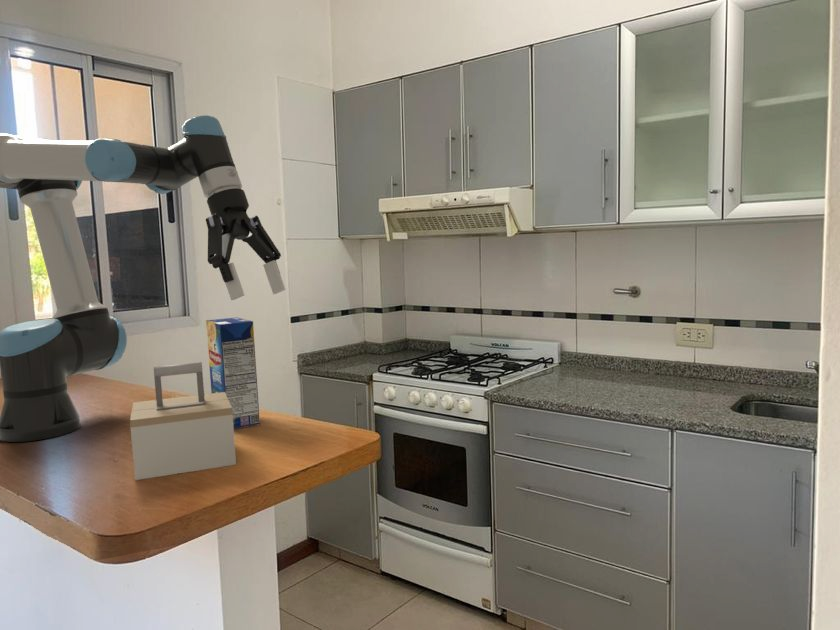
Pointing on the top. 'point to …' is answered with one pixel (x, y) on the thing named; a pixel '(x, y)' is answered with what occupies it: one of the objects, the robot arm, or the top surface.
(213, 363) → the beverage box
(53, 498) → the top surface
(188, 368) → the rear flap
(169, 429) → the carton
